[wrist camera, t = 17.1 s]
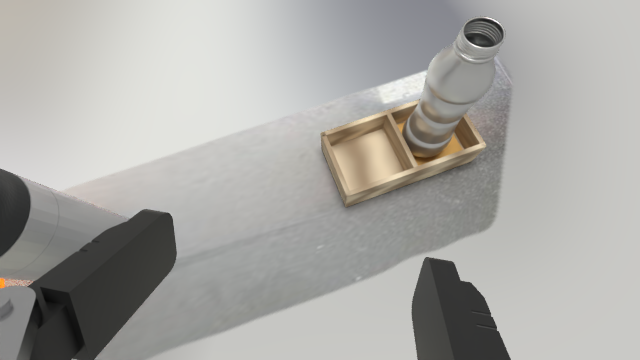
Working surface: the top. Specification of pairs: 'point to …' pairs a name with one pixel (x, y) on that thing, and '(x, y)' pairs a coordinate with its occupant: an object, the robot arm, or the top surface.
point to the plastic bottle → (454, 86)
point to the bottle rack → (389, 154)
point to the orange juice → (1, 283)
